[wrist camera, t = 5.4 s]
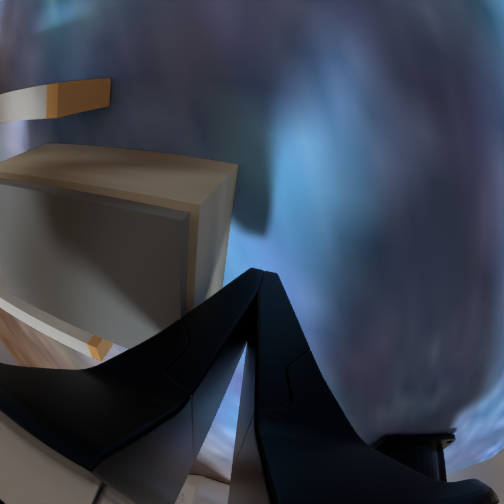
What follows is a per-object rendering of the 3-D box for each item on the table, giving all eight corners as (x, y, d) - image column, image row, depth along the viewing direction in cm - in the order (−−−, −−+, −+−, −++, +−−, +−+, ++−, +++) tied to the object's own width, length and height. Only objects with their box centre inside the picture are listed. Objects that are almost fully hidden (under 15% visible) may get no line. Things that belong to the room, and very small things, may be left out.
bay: (111, 77, 8) (58, 82, 6) (125, 325, 13) (101, 361, 11) (-39, 106, 9) (-70, 118, 7) (-12, 264, 14) (-34, 283, 12)
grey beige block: (240, 162, 9) (192, 213, 5) (223, 291, 11) (188, 373, 8) (51, 141, 9) (-24, 174, 6) (63, 246, 12) (8, 295, 9)
